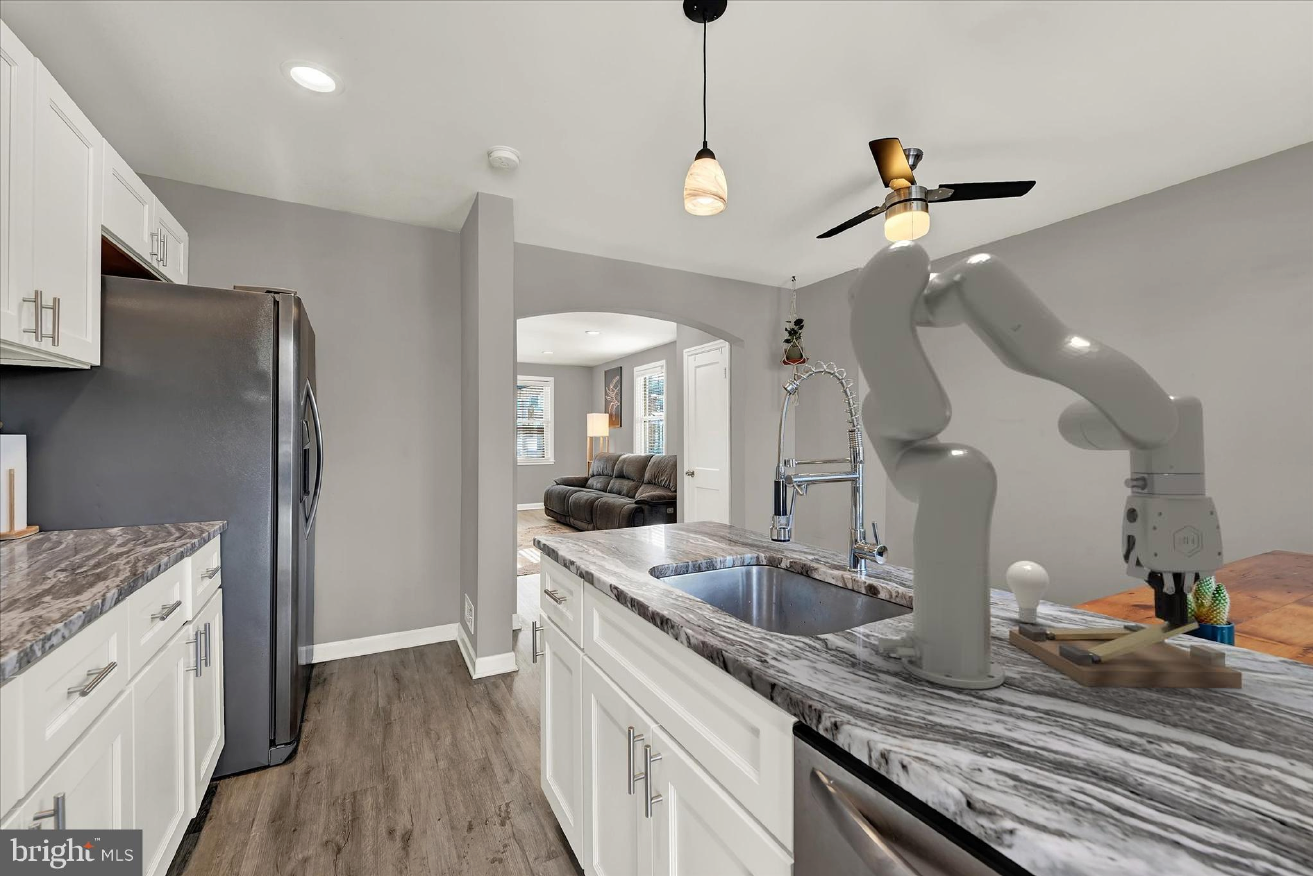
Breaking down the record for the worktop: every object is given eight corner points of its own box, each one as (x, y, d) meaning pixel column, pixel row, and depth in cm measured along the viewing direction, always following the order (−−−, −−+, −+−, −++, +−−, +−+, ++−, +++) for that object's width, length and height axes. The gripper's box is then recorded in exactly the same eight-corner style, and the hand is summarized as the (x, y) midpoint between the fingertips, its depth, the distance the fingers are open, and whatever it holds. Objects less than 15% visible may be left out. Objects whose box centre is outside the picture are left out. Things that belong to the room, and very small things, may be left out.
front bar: (1094, 664, 74) (1091, 656, 74) (1081, 657, 77) (1078, 650, 77) (1199, 627, 74) (1196, 619, 74) (1182, 621, 76) (1179, 614, 76)
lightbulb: (1058, 629, 94) (1058, 565, 94) (1021, 629, 94) (1020, 564, 94) (1033, 618, 100) (1033, 557, 100) (998, 617, 100) (998, 557, 101)
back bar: (1048, 639, 83) (1048, 632, 83) (1037, 634, 86) (1037, 627, 86) (1147, 637, 83) (1147, 630, 83) (1134, 632, 85) (1134, 625, 85)
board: (1085, 686, 72) (1084, 656, 72) (1009, 642, 88) (1009, 618, 88) (1241, 688, 71) (1241, 658, 72) (1137, 643, 87) (1136, 619, 88)
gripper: (1134, 489, 72) (1138, 630, 72) (1251, 487, 72) (1256, 629, 71) (1090, 485, 79) (1094, 613, 79) (1196, 483, 79) (1200, 611, 79)
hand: (1171, 620), depth 75 cm, fingers closed
